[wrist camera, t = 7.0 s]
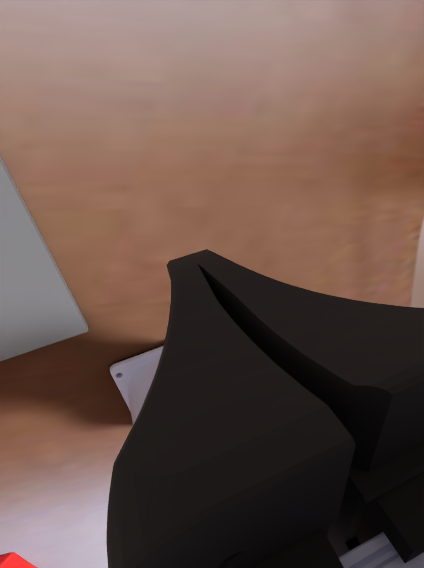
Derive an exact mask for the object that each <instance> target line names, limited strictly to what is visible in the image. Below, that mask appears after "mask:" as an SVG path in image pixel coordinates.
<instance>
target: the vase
mask: <svg viewBox="0 0 424 568" xmlns="http://www.w3.org/2000/svg"><path fill="white" fill-rule="evenodd" d="M0 568H37V567H35V566H33V565H32V564H30V563H29V562H27V561H26V560H24V559H23V558H21V557H20V556H19V555H17V554H16V553H8V554H5V555H2V556H0Z"/></svg>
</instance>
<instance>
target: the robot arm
mask: <svg viewBox="0 0 424 568" xmlns="http://www.w3.org/2000/svg"><path fill="white" fill-rule="evenodd" d="M167 268H168V272H169V275H170V279H171V306H170V315H169V322H168V328H167V333H166V338H165V342H164V346H162V347H159V348H156V349H154V350H151V351H148V352H145V353H143V354H140V355H137V356H135V357H132V358H129V359H126V360H124V361H121V362H118V363H115V364H113V365H112V366H111V367H110V373H111V375H112V377H113V379H114V381H115V383H116V385H117V387H118V389H119V390H120V392H121V394H122V396H123V398H124V400H125V402H126V404H127V406H128V408H129V410H130V412H131V416H132V422H133V427H132V429H131V431H130V433H129V435H128V437H127V439H126V441H125V443H124V445H123V447H122V449H121V450H120V452H119V454H118V456H117V458H116V460H115V462H114V466H113V472H112V479H111V486H110V493H109V503H108V515H107V556H108V568H424V308H414V307H402V306H394V305H385V304H377V303H370V302H363V301H357V300H351V299H346V298H341V297H336V296H331V295H326V294H322V293H317V292H313V291H310V290H306V289H303V288H299V287H295V286H292V285H289V284H286V283H283V282H280V281H277V280H274V279H272V278H269V277H266V276H264V275H261V274H259V273H256V272H254V271H252V270H249V269H247V268H245V267H243V266H240V265H238V264H236V263H234V262H232V261H230V260H228V259H226V258H224V257H222V256H220V255H218V254H216V253H214V252H212V251H209V250H207V249H206V250H203V251H200V252H197V253H193V254H190V255H187V256H184V257H181V258H177V259H174V260H171V261H169V262H168V264H167ZM118 373H121V374H118Z"/></svg>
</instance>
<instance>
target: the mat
mask: <svg viewBox="0 0 424 568" xmlns="http://www.w3.org/2000/svg"><path fill="white" fill-rule="evenodd" d="M85 332H88V325H87V323H86V321H85V319H84V317H83V315H82V313H81V311H80V309H79V307H78V305H77V303H76V301H75V299H74V298H73V296H72V294H71V292H70V290H69V288H68V286H67V284H66V282H65V280H64V278H63V276H62V274H61V272H60V270H59V269H58V267H57V265H56V263H55V261H54V259H53V257H52V255H51V253H50V251H49V249H48V247H47V245H46V243H45V241H44V239H43V238H42V236H41V234H40V232H39V230H38V228H37V226H36V224H35V222H34V220H33V218H32V216H31V214H30V212H29V210H28V208H27V207H26V205H25V203H24V201H23V199H22V197H21V195H20V193H19V191H18V189H17V187H16V185H15V183H14V181H13V179H12V177H11V176H10V174H9V172H8V170H7V168H6V166H5V164H4V162H3V160H2V158H1V156H0V361H3V360H6V359H9V358H12V357H15V356H18V355H21V354H24V353H26V352H29V351H32V350H35V349H38V348H41V347H44V346H47V345H50V344H53V343H56V342H59V341H62V340H65V339H68V338H71V337H73V336H76V335H79V334H82V333H85Z"/></svg>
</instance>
